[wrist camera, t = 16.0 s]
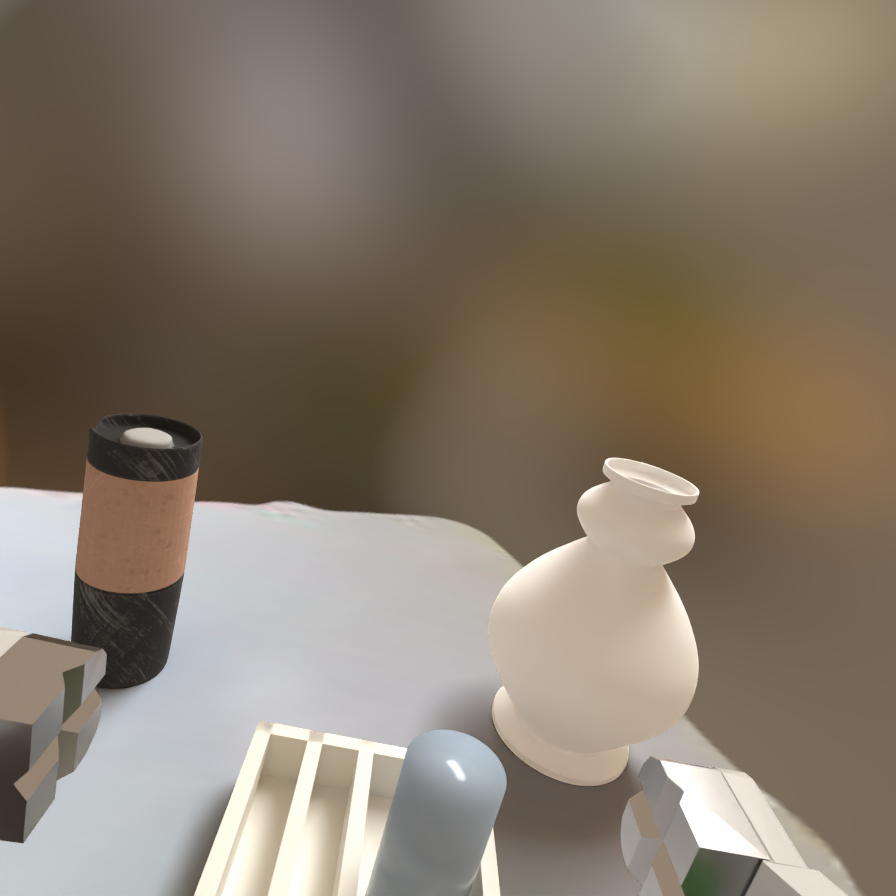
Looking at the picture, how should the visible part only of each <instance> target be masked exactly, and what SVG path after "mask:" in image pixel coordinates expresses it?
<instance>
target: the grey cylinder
mask: <svg viewBox="0 0 896 896" xmlns="http://www.w3.org/2000/svg"><path fill="white" fill-rule="evenodd" d="M506 785H507V779H506V774H505V770H504V768H503V766H502V764H501V762H500V760H499V759H498V757H497V756H496V755H495V754H494V752H493V751H492V750H491V749H490V748H489V747H487V746H486V745H485V744H484V743H482V742H481V741H479V740H478V739H476V738H474V737H472V736H470V735H467V734H465V733H462V732H458V731H454V730H444V729H441V730H432V731H428V732H425V733H423V734H421V735H419V736H418V737H416V738H415V739H414V740H413V741H412V742H411V743H410V745H409V747H408V748H407V751H406V755H405V758H404V761H403V765H402V768H401V772H400V775H399V779H398V782H397V786H396V789H395V793H394V796H393V800H392V803H391V807H390V810H389V814H388V817H387V821H386V824H385V828H384V831H383V835H382V838H381V842H380V845H379V849H378V852H377V856H376V859H375V863H374V866H373V870H372V873H371V877H370V880H369V883H368V887H367V890H366V894H365V896H469V894H470V891H471V889H472V886H473V883H474V880H475V877H476V874H477V871H478V869H479V866H480V863H481V860H482V857H483V854H484V851H485V849H486V846H487V843H488V840H489V837H490V834H491V831H492V828H493V826H494V823H495V820H496V817H497V814H498V811H499V808H500V806H501V803H502V800H503V797H504V794H505V791H506Z"/></svg>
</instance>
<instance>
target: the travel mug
mask: <svg viewBox="0 0 896 896" xmlns="http://www.w3.org/2000/svg"><path fill="white" fill-rule="evenodd" d="M201 448H202V435H201V433H200V432H199V431H198V430H197V429H195V428H194V427H192V426H190V425H188V424H186V423H183V422H180V421H177V420H174V419H170V418H165V417H160V416H154V415H145V414H115V415H109V416H106V417H103V418H102V419H101V420H100V422H99V424H98V425H97V426H96V427H95V428H94V429H92V428H90V429H89V444H88V454H87V463H86V473H85V481H84V491H83V500H82V509H81V518H80V528H79V537H78V546H77V555H76V565H75V581H74V599H73V618H72V636H71V642H74V643H79V644H84V645H88V646H93V647H97V648H102V649H103V650H104V651H105V653H106V654H107V659H106V672H105V675H104V676H103V678H102V679H101V680H100V682H99V683H98V684H97V685H96V686H97V687H102V688H125V687H130V686H134V685H138V684H141V683H144V682H146V681H148V680H150V679H152V678H153V677H155V676H156V675H157V674H158V673H159V672H160V671H161V670H162V669H163V668H164V666H165V664H166V662H167V659H168V655H169V650H170V645H171V640H172V635H173V629H174V624H175V619H176V614H177V608H178V603H179V598H180V592H181V587H182V582H183V576H184V570H185V564H186V557H187V550H188V542H189V535H190V528H191V521H192V513H193V506H194V499H195V492H196V484H197V477H198V470H199V463H200V456H201Z"/></svg>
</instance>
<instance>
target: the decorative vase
mask: <svg viewBox="0 0 896 896" xmlns="http://www.w3.org/2000/svg"><path fill="white" fill-rule="evenodd" d="M603 473H604V474H605V475H606V476H607V477H608V478H609V479H610V480H611V482H607V483H604V484H601V485H598V486H595V487H593V488H591V489H589V490H588V491H586V492H585V493H584V494H583V495H582V496H581V498H580V500H579V502H578V506H577V515H578V518H579V521H580V523H581V525H582V527H583V529H584V531H585V533H586V534H587V537H584V538H582V539H579V540H576V541H574V542H571V543H569V544H566V545H564V546H561V547H559V548H557V549H554V550H552V551H551V552H548V553H546V554H544V555H542V556H541V557H539V558H537V559H536V560H534V561H532V562H531V563H529V564H528V565H526V566H525V567H524V568H522V569H521V570H520V571H518V572H517V573H516V574H515V575H514V576H513V577H512V578H511V579H510V580H509V581H508V582H507V583H506V584H505V585H504V587H503V588H502V590H501V591H500V593H499V594H498V596H497V598H496V600H495V602H494V605H493V607H492V610H491V613H490V617H489V622H488V643H489V648H490V652H491V656H492V659H493V662H494V665H495V667H496V670H497V672H498V674H499V677H500V679H501V681H502V683H503V685H504V686H502V687H501V688H500V689H499V691H498V692H497V694H496V696H495V698H494V701H493V705H492V718H493V722H494V725H495V728H496V730H497V732H498V734H499V736H500V737H501V739H502V740H503V742H504V743H505V744H506V745H507V747H508V748H509V749H510V750H511V751H512V752H513V753H514V754H515V755H516V756H517V757H518V758H520V759H521V760H522V761H523V762H525V763H526V764H527V765H529V766H530V767H532V768H533V769H535V770H537V771H538V772H540V773H542V774H544V775H546V776H548V777H551V778H553V779H556V780H558V781H561V782H565V783H569V784H573V785H580V786H598V785H603V784H606V783H609V782H611V781H613V780H615V779H616V778H618V777H619V776H620V775H621V773H622V772H623V771H624V769H625V767H626V764H627V762H628V758H629V746H628V745H631V744H635V743H638V742H641V741H644V740H647V739H649V738H652V737H654V736H657V735H659V734H661V733H663V732H664V731H666V730H668V729H669V728H670V727H672V726H673V725H674V724H675V723H677V722H678V721H679V719H680V718H681V717H682V716H683V715H684V713H685V712H686V710H687V709H688V707H689V705H690V703H691V700H692V698H693V695H694V692H695V689H696V685H697V680H698V670H699V667H698V666H699V665H698V653H697V647H696V642H695V638H694V634H693V631H692V628H691V624H690V621H689V619H688V616H687V613H686V611H685V609H684V606H683V604H682V602H681V599H680V597H679V596H678V593H677V591H676V589H675V588H674V586H673V584H672V582H671V580H670V578H669V577H668V575H667V573H666V571H665V570H664V567H663V566H662V565H663V564H667V563H670V562H673V561H675V560H678V559H680V558H682V557H684V556H685V555H686V554H688V553H689V552H690V550H691V549H692V547H693V544H694V540H695V533H694V529H693V526H692V524H691V522H690V520H689V518H688V516H687V515H686V513H685V512H684V510H683V509H682V508H681V505H690V504H694V503H695V502H696V500H697V497H698V495H699V490H698V489H697V488H696V487H695V486H694V485H693V484H691V483H690V482H688V481H687V480H685V479H683V478H681V477H679V476H677V475H675V474H672V473H670V472H668V471H665V470H663V469H660V468H657V467H654V466H651V465H648V464H644V463H641V462H637V461H633V460H628V459H621V458H609V459H607V460H606V461H605V464H604V466H603Z"/></svg>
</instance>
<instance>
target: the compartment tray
mask: <svg viewBox="0 0 896 896" xmlns="http://www.w3.org/2000/svg"><path fill="white" fill-rule="evenodd" d="M406 751H407V748H402V747H397V746H392V745H386V744H381V743H376V742H371V741H365V740H360V739H355V738H350V737H344V736H339V735H334V734H329V733H323V732H318V731H313V730H308V729H302V728H297V727H292V726H287V725H281V724H276V723H271V722H265V721H260V720H259V723H258V726H257V728H256V731H255V734H254V736H253V739H252V742H251V744H250V747H249V750H248V753H247V755H246V758H245V761H244V763H243V766H242V769H241V771H240V774H239V777H238V779H237V782H236V785H235V787H234V790H233V793H232V795H231V798H230V801H229V803H228V806H227V809H226V811H225V814H224V817H223V819H222V822H221V825H220V827H219V830H218V833H217V835H216V838H215V841H214V843H213V846H212V849H211V851H210V854H209V857H208V859H207V862H206V865H205V867H204V870H203V873H202V875H201V878H200V881H199V883H198V886H197V889H196V892H195V894H194V896H365V894H366V890H367V887H368V883H369V880H370V877H371V873H372V870H373V866H374V863H375V859H376V856H377V852H378V849H379V845H380V842H381V838H382V835H383V831H384V828H385V824H386V821H387V817H388V814H389V810H390V807H391V803H392V800H393V796H394V793H395V789H396V786H397V782H398V779H399V775H400V772H401V768H402V765H403V761H404V758H405V755H406ZM469 896H500V887H499V878H498V868H497V859H496V850H495V840H494V831H493V828H492V831H491V834H490V837H489V840H488V843H487V846H486V849H485V851H484V854H483V857H482V860H481V863H480V866H479V869H478V871H477V874H476V877H475V880H474V883H473V886H472V889H471V891H470V894H469Z"/></svg>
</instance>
